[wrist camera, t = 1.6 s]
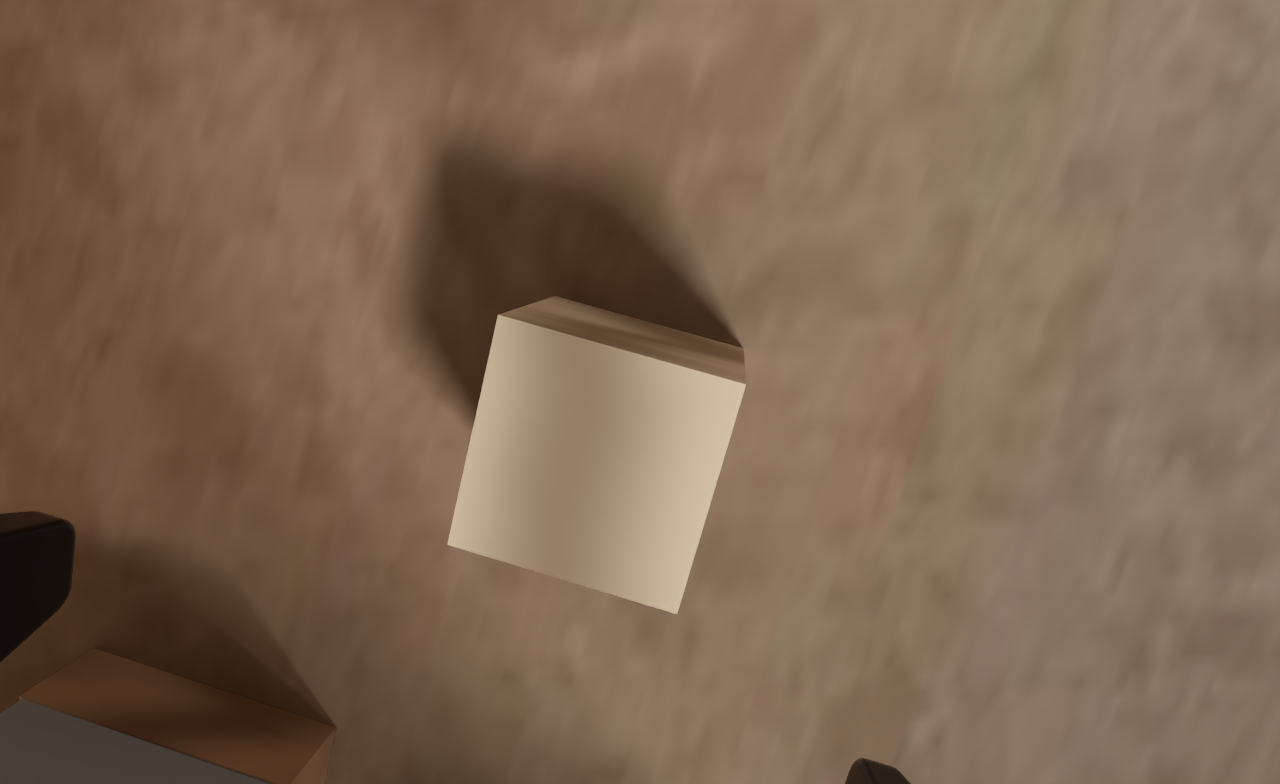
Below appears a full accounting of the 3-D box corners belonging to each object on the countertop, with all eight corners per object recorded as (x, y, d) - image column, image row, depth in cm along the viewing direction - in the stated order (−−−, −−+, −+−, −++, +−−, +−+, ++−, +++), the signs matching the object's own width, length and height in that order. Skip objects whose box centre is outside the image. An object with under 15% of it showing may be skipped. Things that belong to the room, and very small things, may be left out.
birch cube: (743, 347, 20) (746, 384, 15) (690, 525, 21) (677, 614, 16) (556, 295, 20) (497, 314, 15) (514, 472, 21) (447, 544, 16)
